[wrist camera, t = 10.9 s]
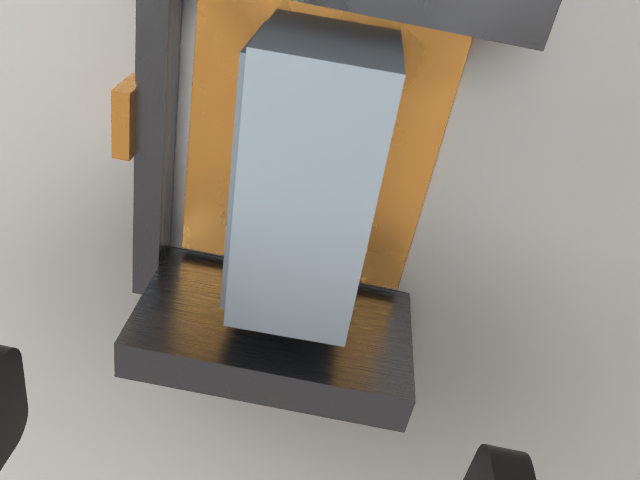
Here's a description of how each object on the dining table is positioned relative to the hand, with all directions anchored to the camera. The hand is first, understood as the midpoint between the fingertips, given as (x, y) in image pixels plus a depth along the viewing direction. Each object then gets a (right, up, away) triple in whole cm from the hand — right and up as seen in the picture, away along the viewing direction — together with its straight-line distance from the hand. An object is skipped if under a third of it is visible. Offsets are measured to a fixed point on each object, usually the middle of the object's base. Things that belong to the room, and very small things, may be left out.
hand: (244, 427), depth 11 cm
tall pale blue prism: (+1, +7, +11) cm, 13 cm away
